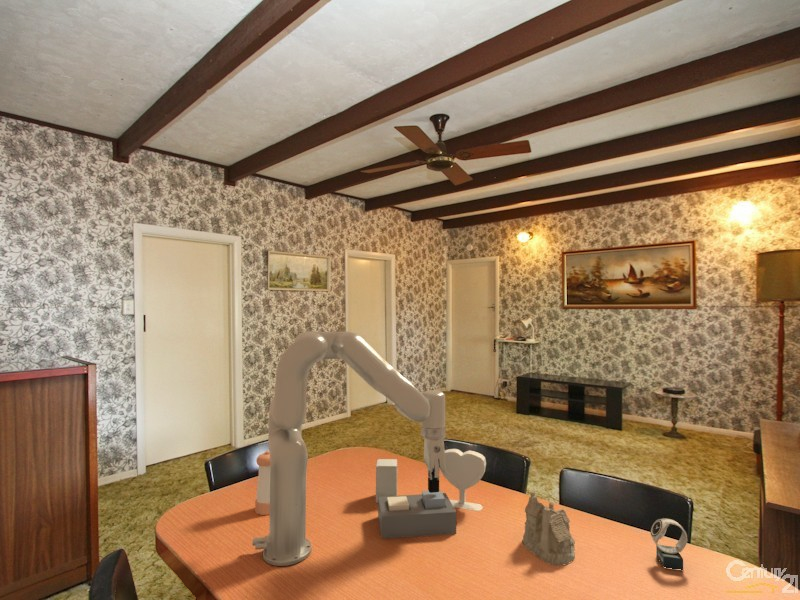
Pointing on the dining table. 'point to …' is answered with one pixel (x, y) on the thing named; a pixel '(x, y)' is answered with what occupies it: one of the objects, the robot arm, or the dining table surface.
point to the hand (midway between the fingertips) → (433, 491)
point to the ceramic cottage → (548, 533)
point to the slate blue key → (433, 500)
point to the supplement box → (386, 478)
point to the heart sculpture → (464, 474)
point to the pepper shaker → (263, 485)
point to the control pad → (416, 519)
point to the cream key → (397, 503)
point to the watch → (667, 553)
